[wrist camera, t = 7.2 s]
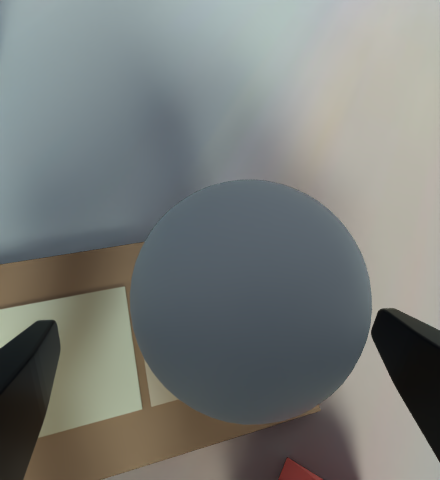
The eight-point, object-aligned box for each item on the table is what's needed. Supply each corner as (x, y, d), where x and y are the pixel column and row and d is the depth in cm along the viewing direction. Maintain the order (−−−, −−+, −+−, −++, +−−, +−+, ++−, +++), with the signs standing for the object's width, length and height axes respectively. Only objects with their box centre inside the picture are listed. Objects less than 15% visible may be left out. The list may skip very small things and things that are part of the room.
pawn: (276, 336, 17) (517, 295, 5) (190, 420, 15) (283, 618, 4) (207, 252, 17) (290, 66, 6) (116, 320, 16) (5, 228, 4)
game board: (261, 229, 20) (267, 221, 19) (311, 407, 17) (322, 411, 16) (-196, 302, 15) (-225, 298, 14) (-237, 577, 12) (-278, 600, 11)
